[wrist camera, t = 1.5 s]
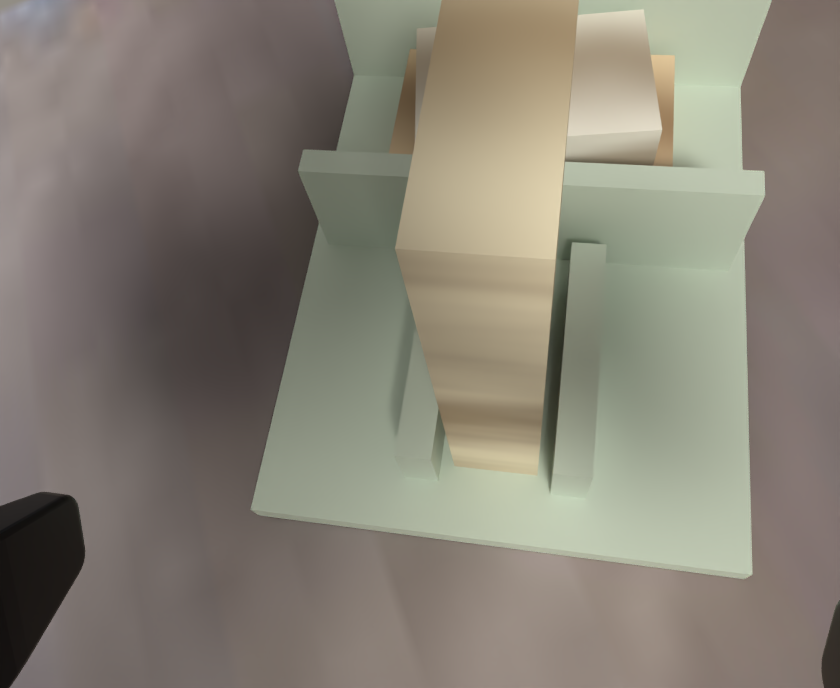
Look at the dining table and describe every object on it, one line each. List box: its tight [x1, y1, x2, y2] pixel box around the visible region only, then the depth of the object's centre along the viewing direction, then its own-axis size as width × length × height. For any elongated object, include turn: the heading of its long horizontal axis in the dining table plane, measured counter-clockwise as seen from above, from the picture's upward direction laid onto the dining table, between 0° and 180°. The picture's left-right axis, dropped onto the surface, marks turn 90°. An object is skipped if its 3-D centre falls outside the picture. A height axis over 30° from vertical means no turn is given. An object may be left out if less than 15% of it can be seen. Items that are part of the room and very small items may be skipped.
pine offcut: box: [389, 49, 675, 167], centre depth 26 cm, size 6×9×2 cm, turn 81°
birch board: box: [395, 0, 579, 475], centre depth 18 cm, size 6×2×12 cm, turn 171°
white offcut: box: [415, 9, 662, 166], centre depth 24 cm, size 5×7×2 cm, turn 89°
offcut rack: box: [251, 0, 772, 579], centre depth 23 cm, size 18×14×7 cm
